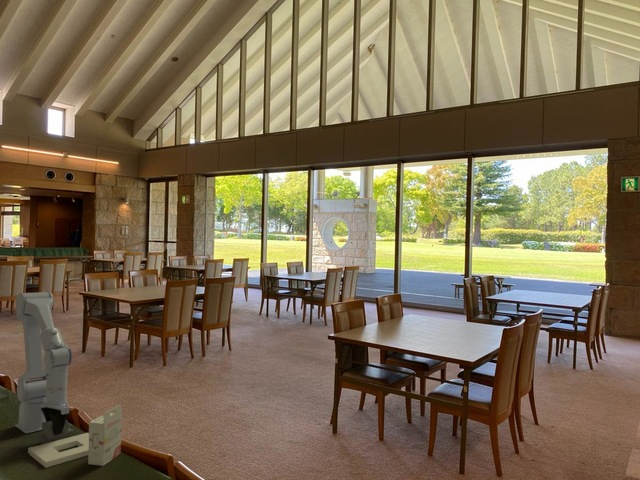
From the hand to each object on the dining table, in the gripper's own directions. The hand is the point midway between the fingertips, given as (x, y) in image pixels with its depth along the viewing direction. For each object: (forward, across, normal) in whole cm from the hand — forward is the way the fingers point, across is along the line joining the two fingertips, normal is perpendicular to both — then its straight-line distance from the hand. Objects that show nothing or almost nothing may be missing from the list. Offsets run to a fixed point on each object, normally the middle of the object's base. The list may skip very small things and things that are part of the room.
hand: (54, 432), depth 151 cm
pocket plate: (+3, +10, 0) cm, 10 cm away
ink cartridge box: (+3, +22, +5) cm, 23 cm away
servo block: (+3, 0, 0) cm, 3 cm away
